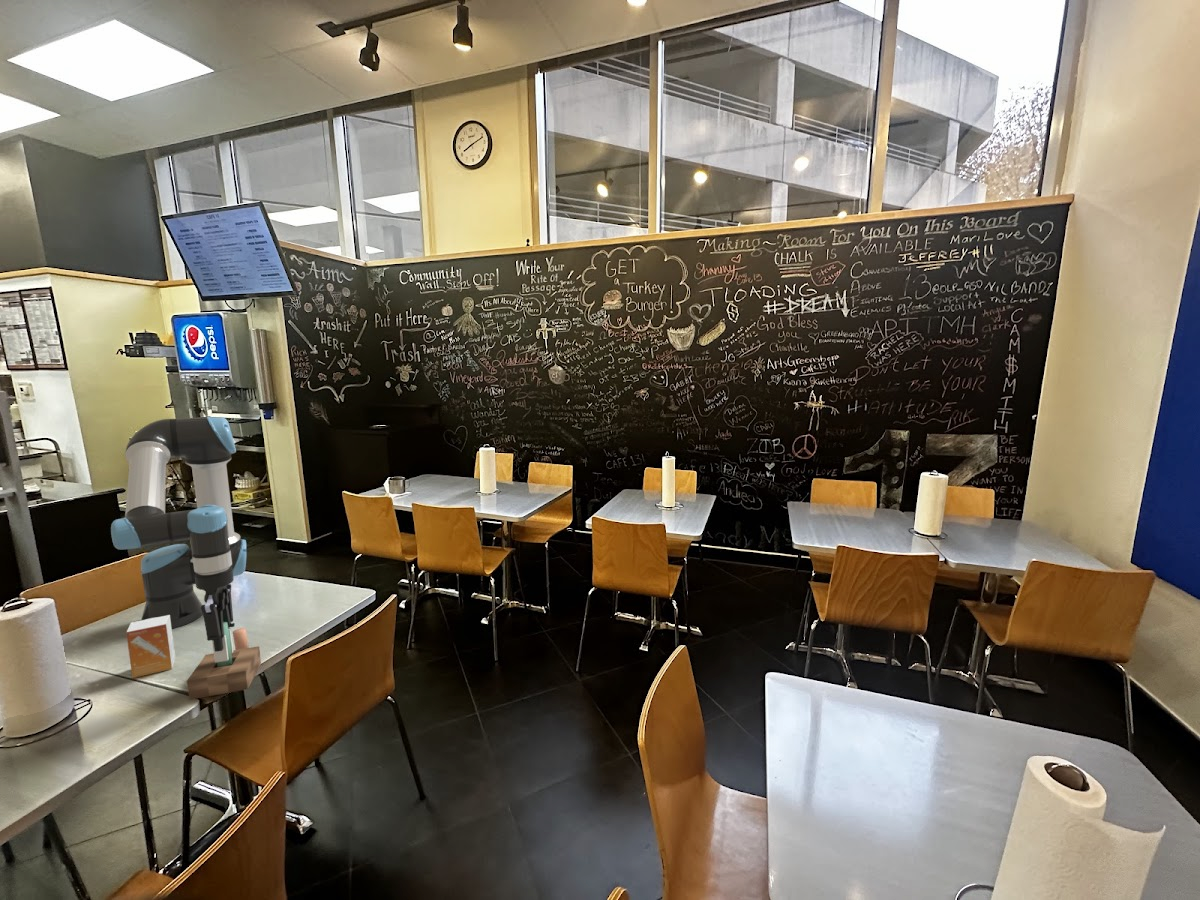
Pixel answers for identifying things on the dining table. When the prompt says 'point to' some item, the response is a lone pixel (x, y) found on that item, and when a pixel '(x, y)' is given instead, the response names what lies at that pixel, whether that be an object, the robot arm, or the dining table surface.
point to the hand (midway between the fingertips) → (224, 656)
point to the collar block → (224, 674)
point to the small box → (150, 646)
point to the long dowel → (226, 632)
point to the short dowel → (240, 639)
